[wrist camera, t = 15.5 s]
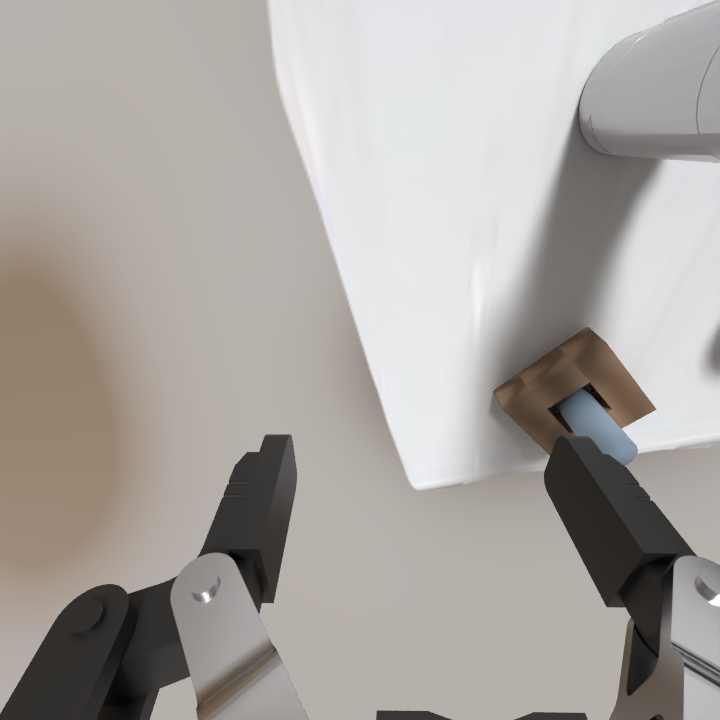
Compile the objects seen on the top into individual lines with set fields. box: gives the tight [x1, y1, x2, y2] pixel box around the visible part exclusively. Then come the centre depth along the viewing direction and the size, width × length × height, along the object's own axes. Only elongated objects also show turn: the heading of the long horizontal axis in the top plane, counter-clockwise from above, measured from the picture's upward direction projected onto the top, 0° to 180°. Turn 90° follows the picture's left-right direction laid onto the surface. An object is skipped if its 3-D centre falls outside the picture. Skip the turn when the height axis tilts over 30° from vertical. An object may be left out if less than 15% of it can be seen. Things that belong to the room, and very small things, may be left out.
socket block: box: [494, 327, 656, 455], centre depth 49 cm, size 14×14×4 cm
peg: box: [554, 387, 638, 466], centre depth 45 cm, size 4×4×12 cm
